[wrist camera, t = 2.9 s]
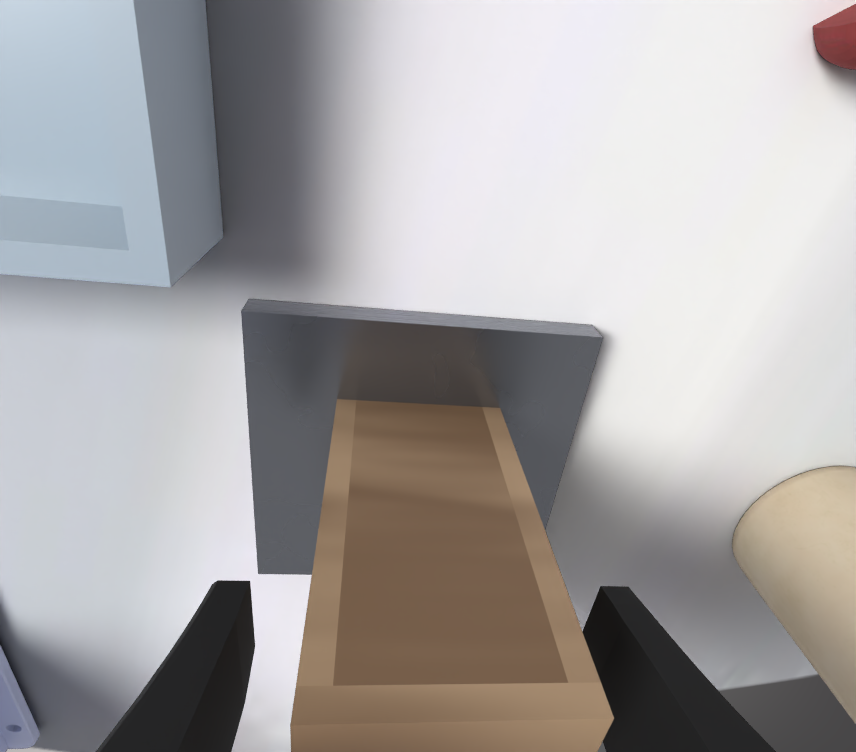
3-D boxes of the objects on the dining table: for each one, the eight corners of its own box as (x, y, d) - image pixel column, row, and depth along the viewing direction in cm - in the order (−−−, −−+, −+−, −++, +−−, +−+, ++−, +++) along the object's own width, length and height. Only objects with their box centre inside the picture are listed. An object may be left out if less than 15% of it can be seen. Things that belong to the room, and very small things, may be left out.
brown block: (474, 526, 16) (545, 855, 9) (333, 522, 16) (293, 868, 9) (500, 408, 14) (614, 718, 7) (337, 399, 14) (290, 725, 7)
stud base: (525, 558, 18) (551, 646, 15) (263, 554, 17) (239, 647, 14) (592, 325, 14) (646, 386, 11) (248, 299, 13) (211, 359, 10)
